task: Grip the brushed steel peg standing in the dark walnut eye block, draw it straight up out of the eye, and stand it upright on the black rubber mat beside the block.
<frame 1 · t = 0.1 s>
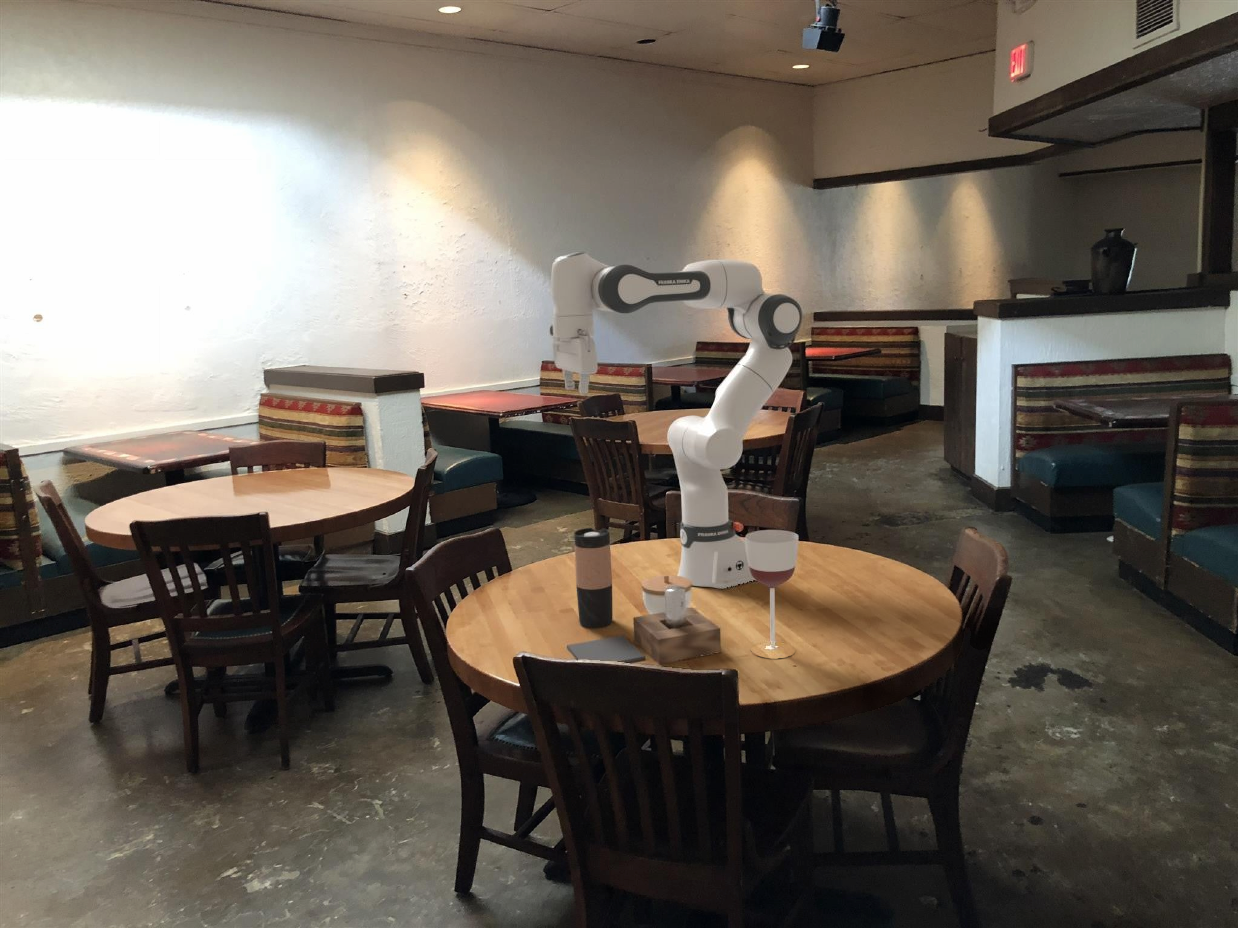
hand: (576, 391, 207), 48 cm above the table, tool pointing down, fingers open, 8 cm apart
peg: (675, 617, 184), in the eye block
lidded jar: (667, 617, 202), on the table
eye block: (676, 646, 186), on the table
wineglass: (772, 651, 182), on the table
travel mug: (596, 622, 201), on the table
mat: (605, 653, 184), on the table
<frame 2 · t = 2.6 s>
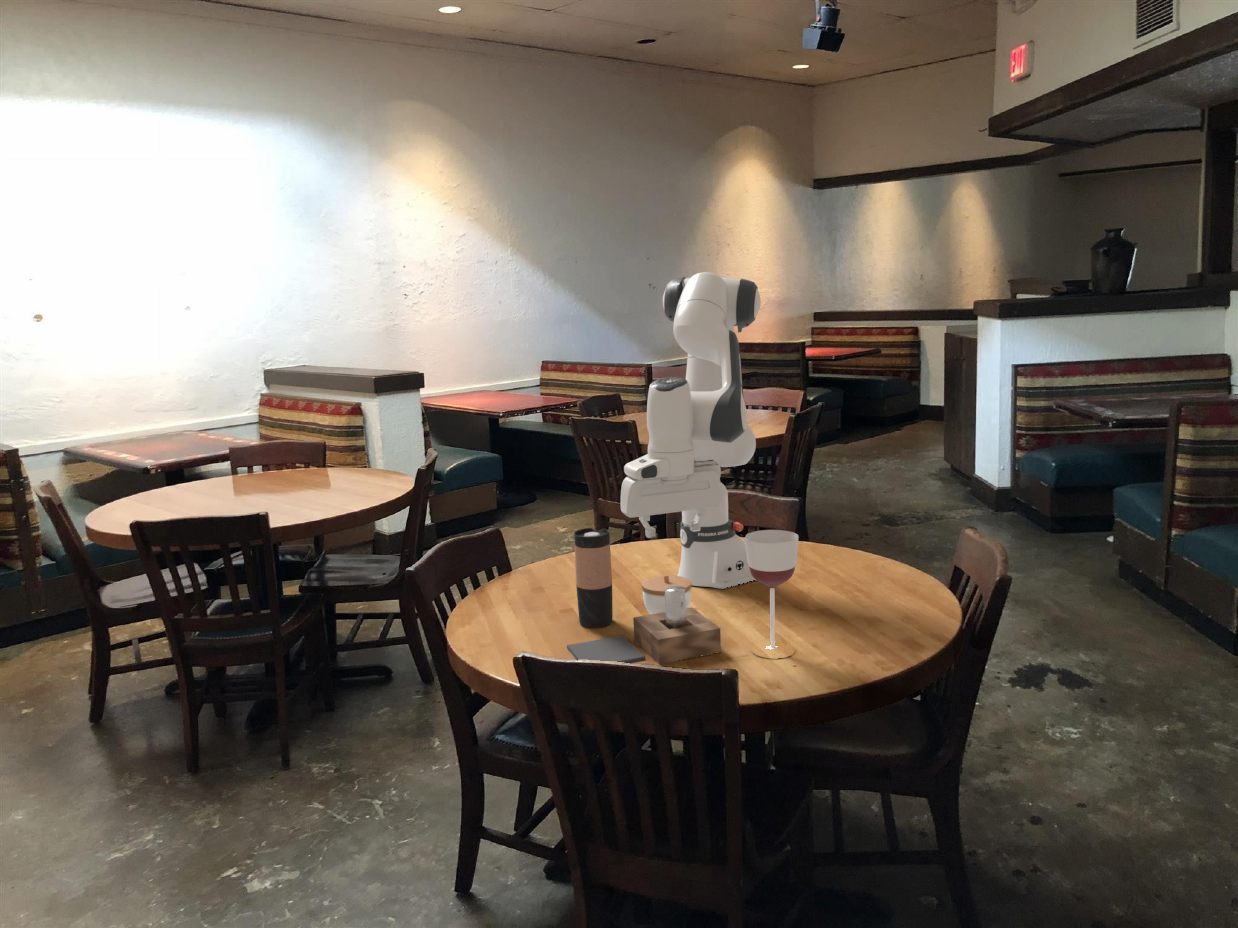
hand: (673, 533, 181), 23 cm above the table, tool pointing down, fingers open, 8 cm apart
nothing on the table moved.
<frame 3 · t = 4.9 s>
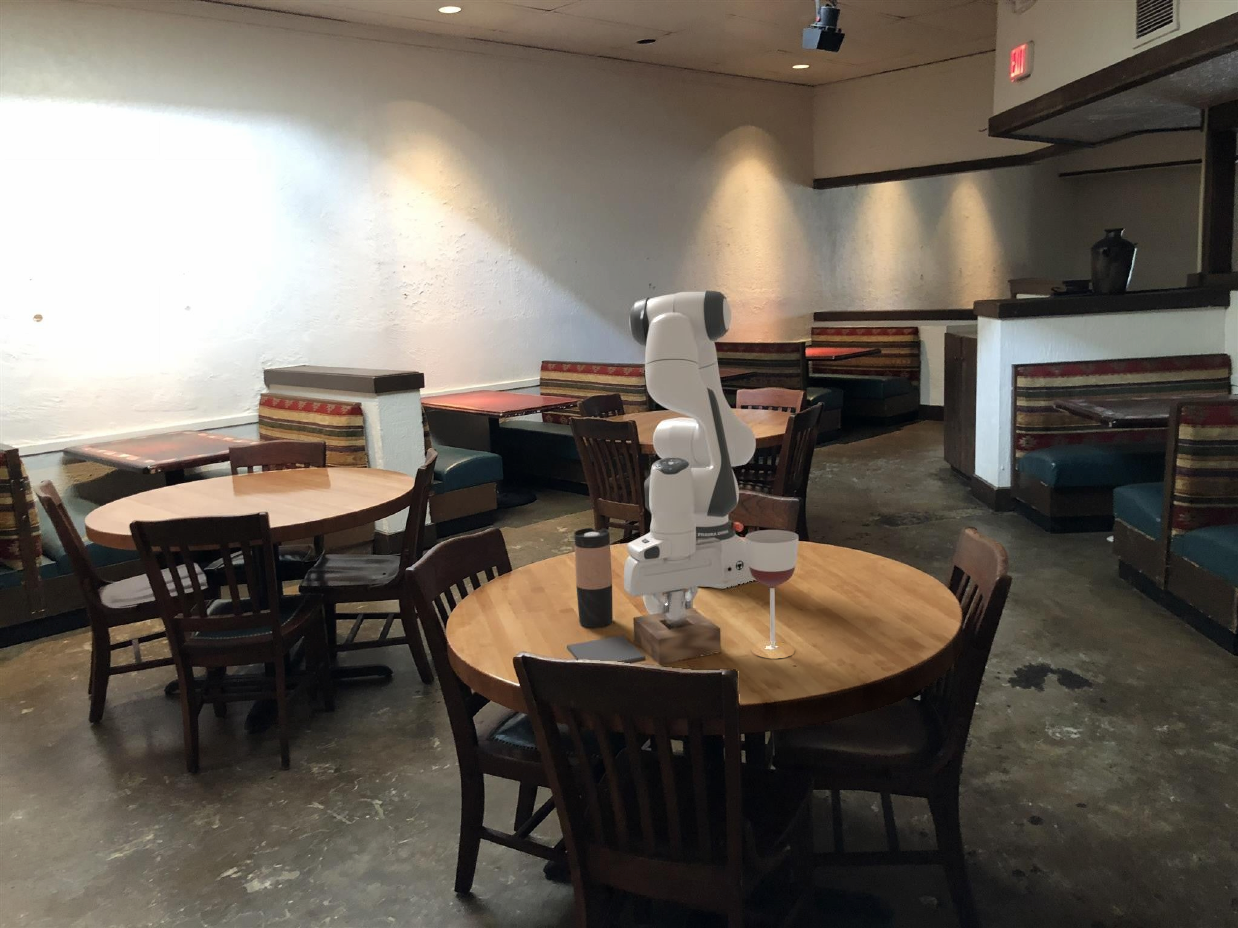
hand: (675, 610, 184), 8 cm above the table, tool pointing down, fingers closed on peg, 4 cm apart
peg: (675, 617, 184), in the eye block, touching gripper
everything else where it was.
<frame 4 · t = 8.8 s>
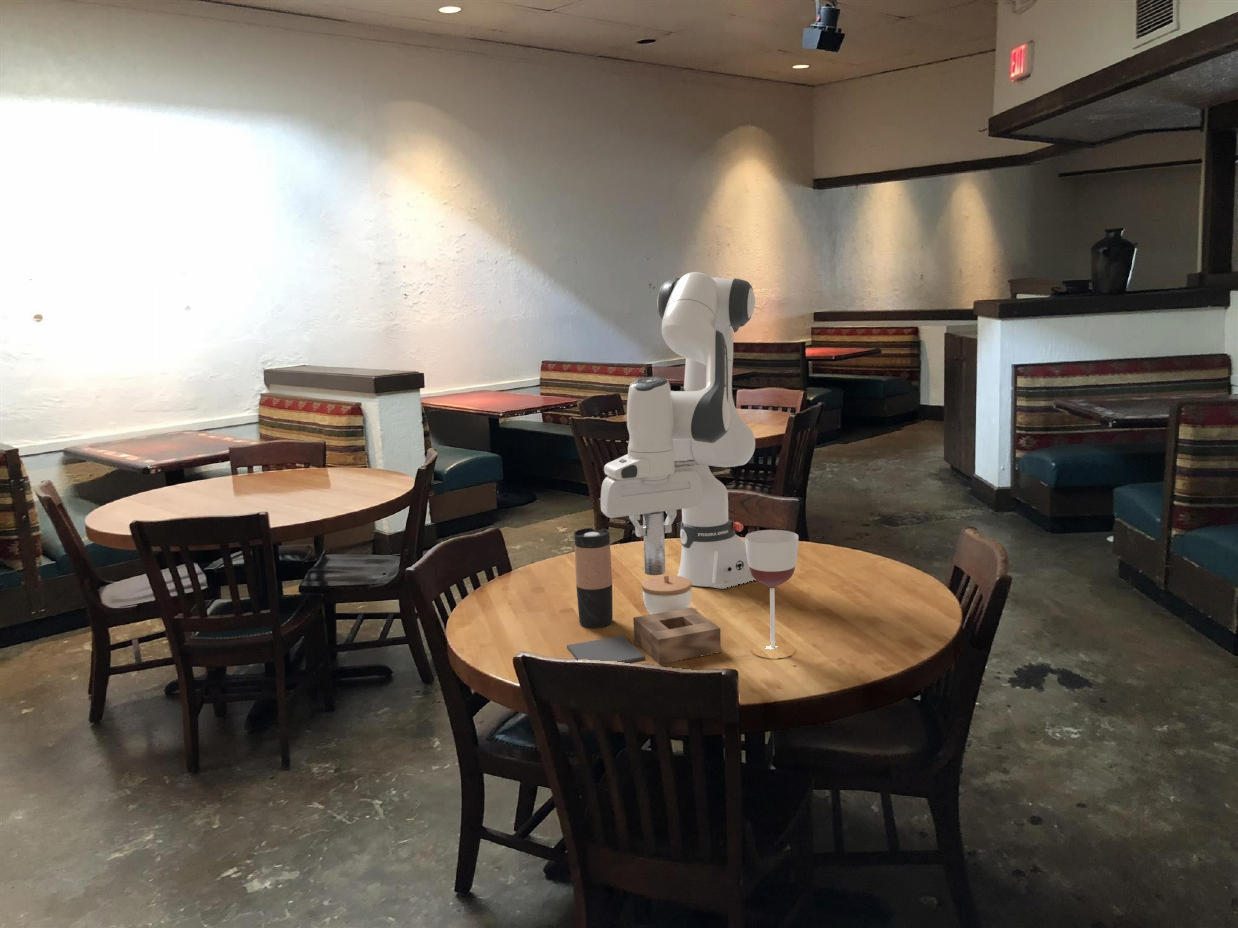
hand: (653, 534, 180), 24 cm above the table, tool pointing down, fingers closed on peg, 4 cm apart
peg: (654, 542, 180), point 22 cm above the table, touching gripper
everything else where it was.
when the fingers open (9 cm above the table, at t = 12.9 s): peg stays where it is, resting on mat.
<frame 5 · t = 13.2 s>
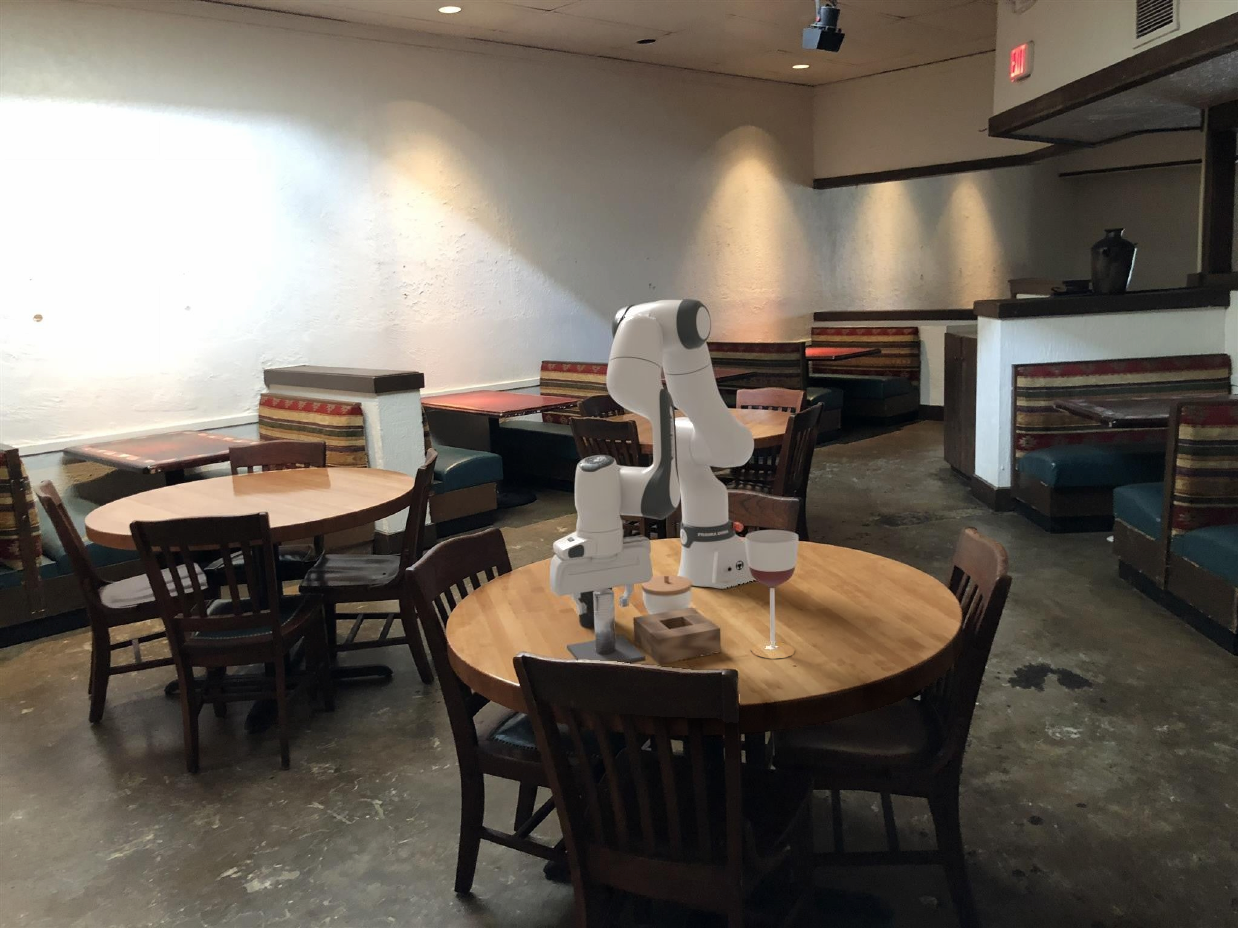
hand: (603, 609, 182), 9 cm above the table, tool pointing down, fingers open, 7 cm apart
peg: (604, 621, 182), on the mat, point 7 cm above the table
everything else where it was.
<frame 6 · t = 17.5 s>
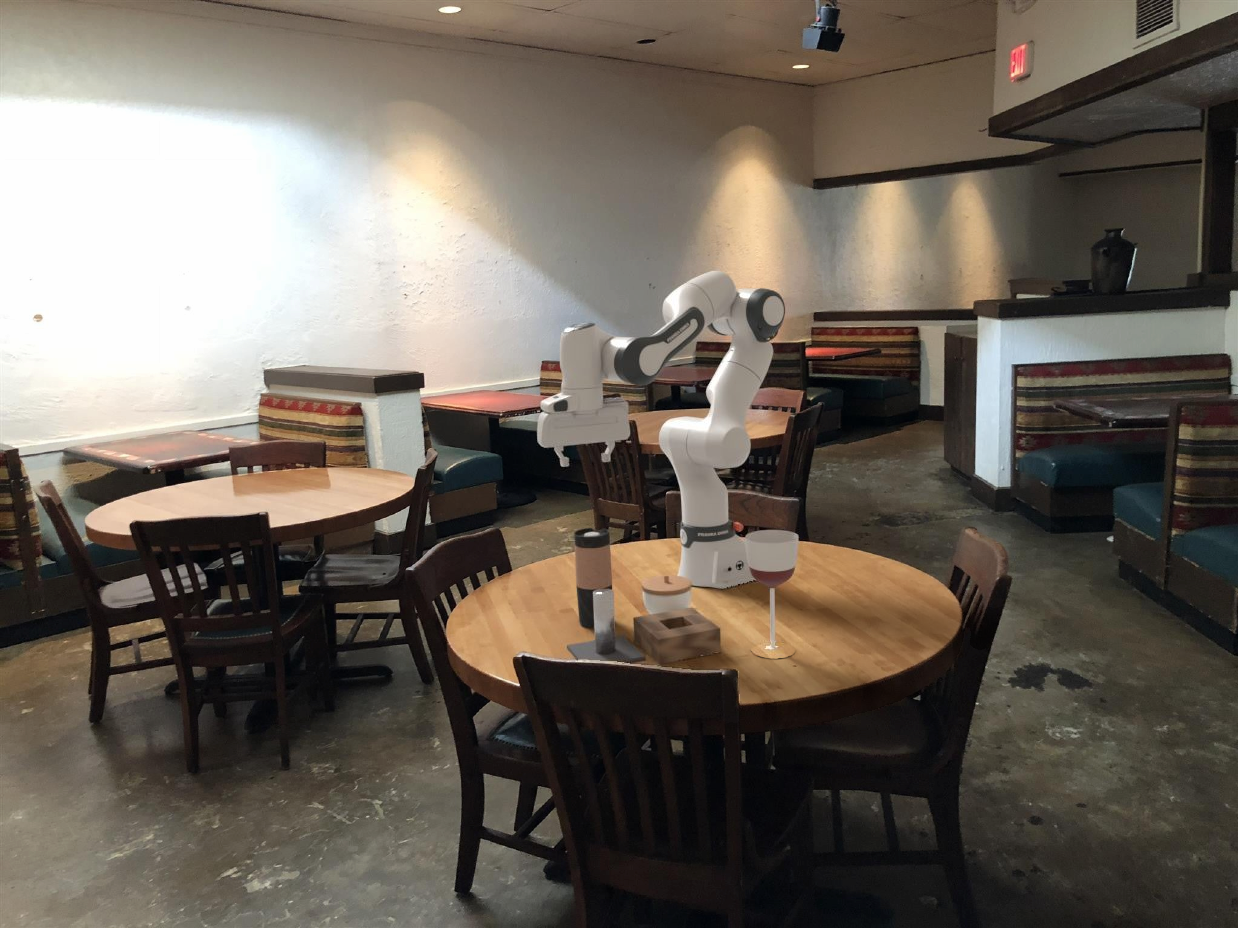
hand: (585, 463, 202), 33 cm above the table, tool pointing down, fingers open, 8 cm apart
nothing on the table moved.
at the end: peg inside the target area on the mat (0.1 cm from its centre), point 6.6 cm above the mat's base; peg tilted 1°; the gripper is holding nothing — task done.
